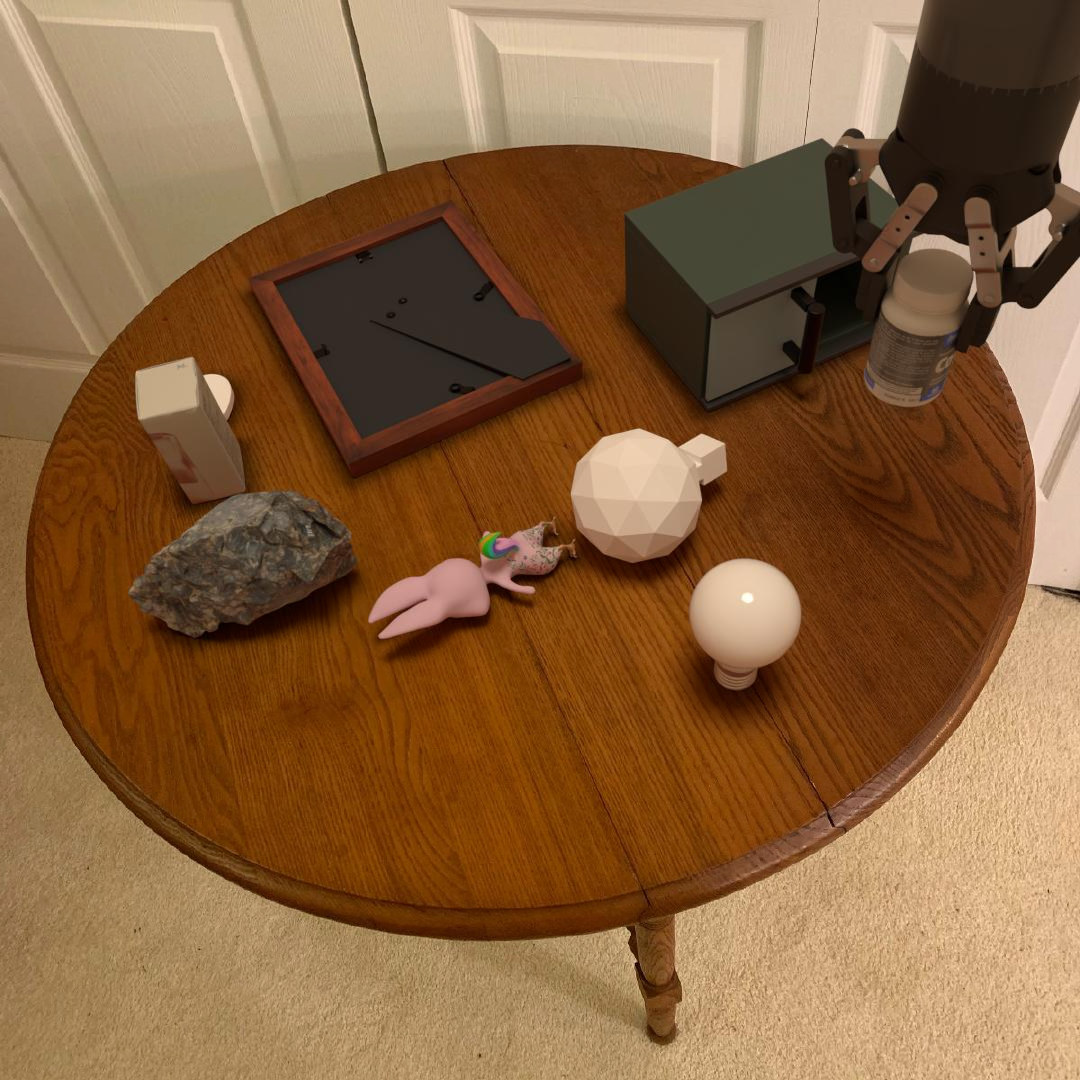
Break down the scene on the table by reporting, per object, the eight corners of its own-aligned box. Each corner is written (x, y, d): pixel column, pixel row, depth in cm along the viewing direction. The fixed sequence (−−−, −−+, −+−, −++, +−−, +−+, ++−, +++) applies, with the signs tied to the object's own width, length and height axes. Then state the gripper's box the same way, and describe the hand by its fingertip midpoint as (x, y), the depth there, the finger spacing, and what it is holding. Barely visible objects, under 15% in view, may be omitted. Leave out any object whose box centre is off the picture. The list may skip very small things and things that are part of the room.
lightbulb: (663, 676, 64) (667, 584, 55) (729, 616, 67) (743, 518, 58) (739, 741, 61) (756, 655, 52) (805, 676, 64) (832, 582, 55)
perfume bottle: (635, 608, 65) (763, 524, 70) (617, 492, 60) (756, 410, 65) (555, 556, 71) (677, 482, 76) (532, 447, 66) (665, 375, 71)
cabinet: (900, 329, 81) (929, 226, 72) (707, 412, 77) (715, 314, 69) (805, 240, 88) (822, 137, 80) (625, 312, 84) (623, 212, 76)
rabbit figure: (539, 528, 74) (354, 611, 68) (544, 471, 69) (346, 555, 63) (587, 585, 70) (397, 678, 65) (595, 530, 66) (392, 625, 60)
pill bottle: (939, 415, 59) (978, 306, 52) (857, 401, 60) (885, 292, 53) (947, 360, 61) (985, 249, 55) (868, 347, 63) (896, 237, 56)
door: (825, 385, 77) (843, 301, 70) (729, 427, 75) (738, 345, 68) (799, 357, 79) (814, 273, 72) (704, 398, 77) (711, 315, 70)
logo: (238, 426, 80) (229, 360, 85) (235, 420, 79) (226, 353, 84) (158, 447, 80) (153, 379, 84) (154, 440, 79) (150, 372, 83)
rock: (198, 709, 66) (136, 633, 58) (143, 607, 71) (79, 524, 63) (383, 598, 70) (349, 512, 62) (318, 509, 75) (279, 419, 67)
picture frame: (583, 377, 80) (454, 215, 94) (581, 359, 79) (450, 197, 92) (353, 478, 76) (253, 293, 90) (347, 461, 75) (246, 275, 88)
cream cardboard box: (186, 459, 79) (134, 367, 71) (241, 445, 79) (195, 353, 71) (189, 509, 76) (135, 419, 68) (246, 495, 76) (199, 404, 68)
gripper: (817, 42, 44) (775, 329, 58) (1162, 118, 39) (1026, 414, 53) (880, -34, 48) (826, 254, 62) (1205, 27, 43) (1066, 327, 56)
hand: (919, 327), depth 57 cm, fingers closed on pill bottle, 4 cm apart
